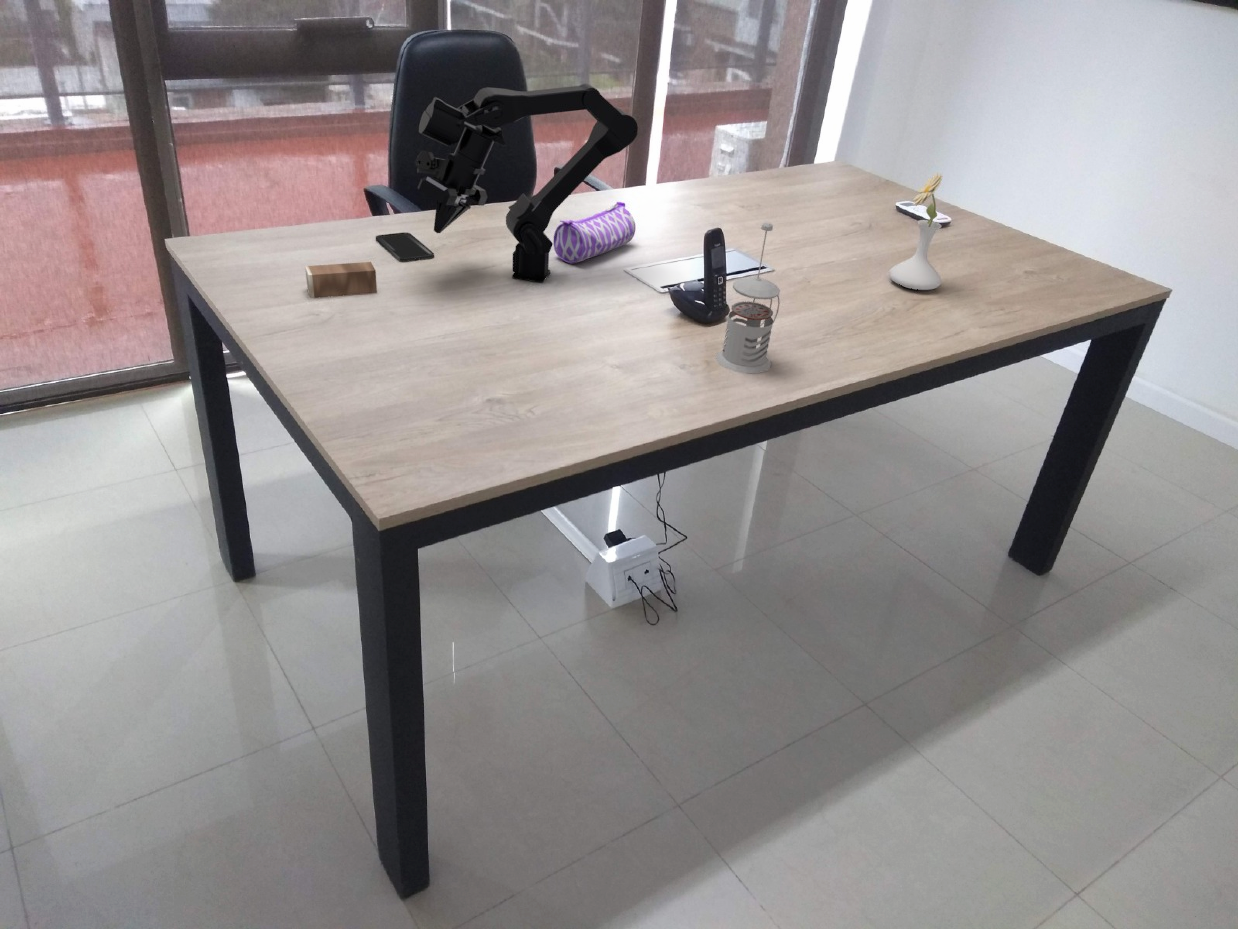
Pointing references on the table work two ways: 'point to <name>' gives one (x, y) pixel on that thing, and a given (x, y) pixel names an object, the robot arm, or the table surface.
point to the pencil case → (594, 234)
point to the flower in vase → (921, 247)
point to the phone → (404, 247)
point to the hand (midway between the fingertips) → (436, 232)
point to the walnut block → (341, 279)
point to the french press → (750, 324)
